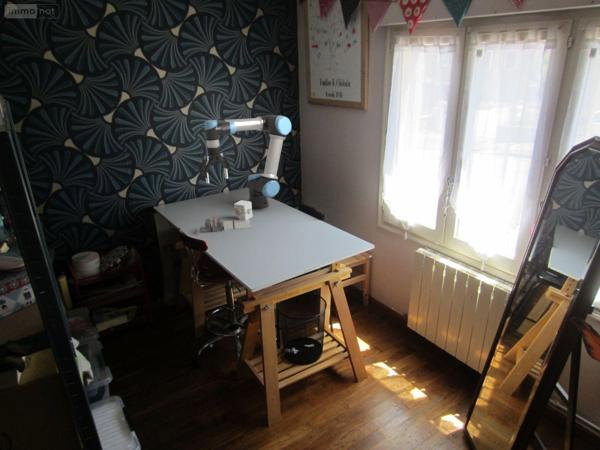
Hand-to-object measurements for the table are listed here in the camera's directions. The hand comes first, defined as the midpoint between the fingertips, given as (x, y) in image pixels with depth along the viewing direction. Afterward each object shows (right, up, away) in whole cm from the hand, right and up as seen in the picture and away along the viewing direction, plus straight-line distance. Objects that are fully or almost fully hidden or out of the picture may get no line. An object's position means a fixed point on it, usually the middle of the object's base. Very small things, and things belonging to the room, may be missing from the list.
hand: (217, 180), depth 258 cm
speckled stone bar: (+13, -29, -2) cm, 32 cm away
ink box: (+15, -24, +15) cm, 32 cm away
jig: (+6, -31, -2) cm, 32 cm away
